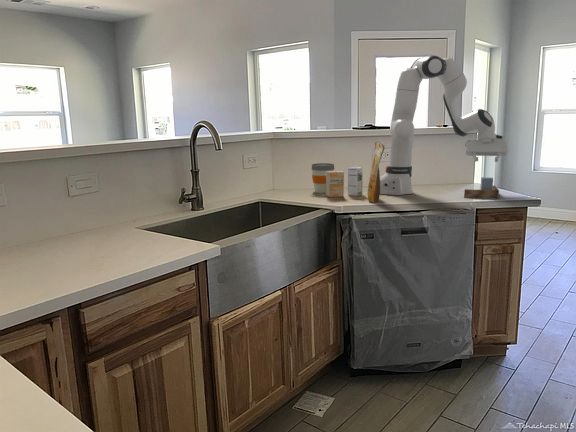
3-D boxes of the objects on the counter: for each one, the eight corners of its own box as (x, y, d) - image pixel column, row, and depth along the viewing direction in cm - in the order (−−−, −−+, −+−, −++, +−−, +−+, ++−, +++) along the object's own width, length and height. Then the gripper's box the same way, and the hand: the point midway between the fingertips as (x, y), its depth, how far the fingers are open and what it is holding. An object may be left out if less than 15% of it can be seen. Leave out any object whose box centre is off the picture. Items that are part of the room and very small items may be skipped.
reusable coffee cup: (338, 192, 249) (338, 164, 245) (317, 193, 244) (317, 166, 241) (328, 189, 260) (328, 162, 257) (308, 190, 255) (307, 163, 252)
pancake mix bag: (380, 196, 233) (381, 141, 227) (383, 203, 214) (384, 143, 208) (366, 196, 234) (367, 141, 228) (368, 203, 215) (369, 143, 209)
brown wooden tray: (464, 197, 226) (464, 189, 225) (462, 192, 242) (463, 184, 241) (498, 198, 222) (499, 190, 221) (494, 193, 237) (495, 185, 236)
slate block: (480, 196, 226) (482, 178, 224) (479, 195, 231) (481, 177, 229) (491, 197, 225) (493, 178, 223) (490, 195, 229) (492, 177, 228)
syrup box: (357, 196, 236) (357, 168, 233) (347, 195, 239) (347, 167, 236) (362, 194, 240) (362, 167, 237) (352, 193, 244) (353, 166, 241)
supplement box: (329, 197, 232) (329, 172, 229) (325, 196, 236) (325, 171, 233) (344, 196, 234) (344, 171, 231) (340, 195, 238) (340, 170, 236)
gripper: (465, 136, 241) (465, 156, 234) (508, 136, 234) (509, 157, 227) (464, 144, 246) (464, 164, 239) (506, 144, 240) (507, 165, 233)
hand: (486, 160), depth 233 cm, fingers open, 8 cm apart
